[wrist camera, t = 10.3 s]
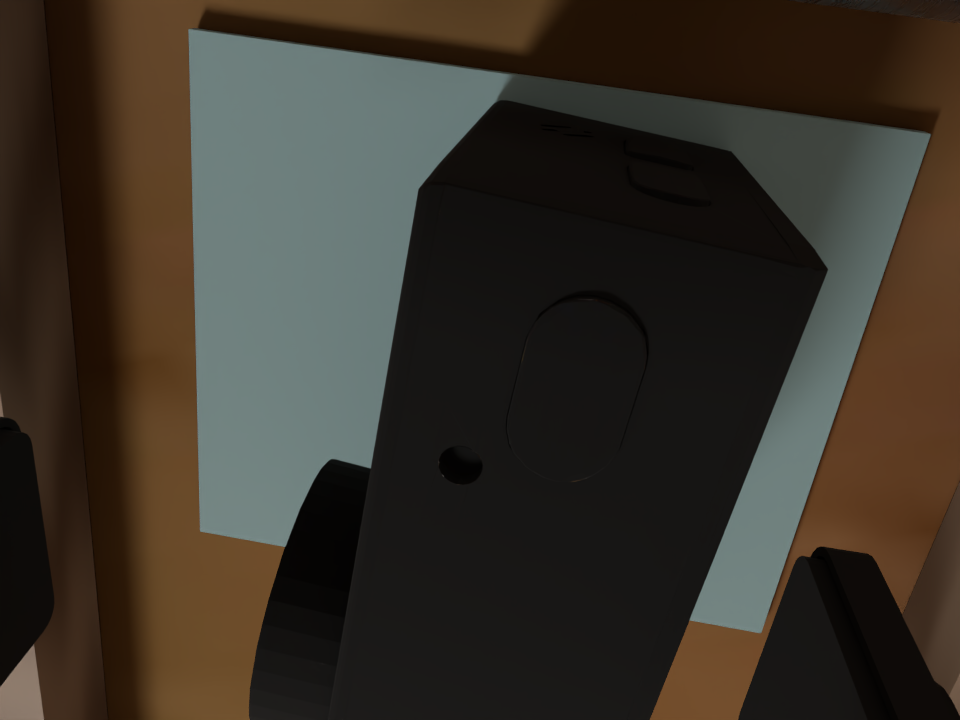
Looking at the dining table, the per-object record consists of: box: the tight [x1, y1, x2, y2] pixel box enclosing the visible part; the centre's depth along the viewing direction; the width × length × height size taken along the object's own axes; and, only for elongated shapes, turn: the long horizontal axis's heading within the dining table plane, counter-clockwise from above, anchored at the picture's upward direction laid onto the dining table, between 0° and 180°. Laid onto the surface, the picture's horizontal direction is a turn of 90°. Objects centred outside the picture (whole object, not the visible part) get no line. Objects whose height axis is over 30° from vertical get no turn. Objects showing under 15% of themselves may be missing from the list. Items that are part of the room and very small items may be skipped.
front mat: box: [189, 28, 931, 633], centre depth 17 cm, size 11×13×1 cm
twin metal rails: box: [0, 0, 960, 720], centre depth 18 cm, size 24×21×2 cm
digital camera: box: [249, 100, 828, 720], centre depth 14 cm, size 10×5×7 cm, turn 169°
